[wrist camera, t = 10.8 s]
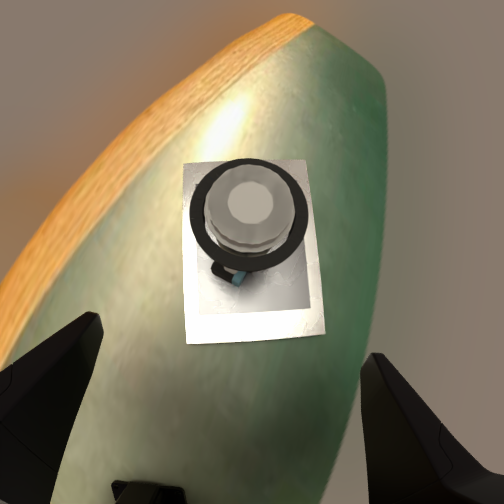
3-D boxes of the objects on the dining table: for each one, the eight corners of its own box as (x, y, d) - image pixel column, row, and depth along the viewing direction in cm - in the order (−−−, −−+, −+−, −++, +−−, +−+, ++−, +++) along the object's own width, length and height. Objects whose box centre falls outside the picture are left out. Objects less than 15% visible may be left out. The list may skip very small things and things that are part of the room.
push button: (236, 192, 23) (239, 111, 14) (299, 224, 23) (341, 159, 13) (192, 268, 22) (162, 228, 12) (258, 303, 22) (279, 290, 12)
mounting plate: (320, 333, 23) (325, 334, 21) (189, 342, 22) (186, 344, 21) (302, 166, 26) (305, 158, 24) (185, 170, 25) (183, 162, 24)
